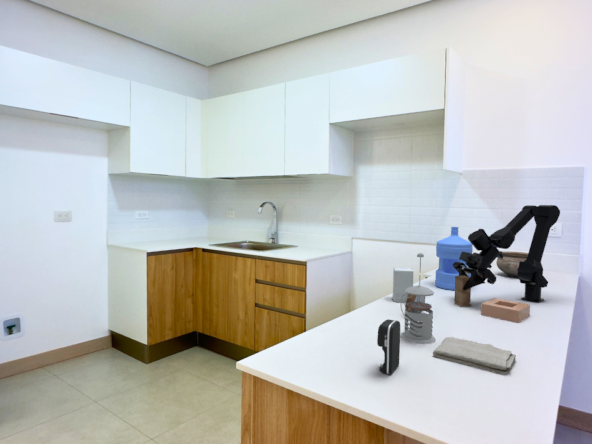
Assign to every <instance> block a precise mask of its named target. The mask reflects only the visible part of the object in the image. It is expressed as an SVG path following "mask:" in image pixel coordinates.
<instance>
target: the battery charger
mask: <svg viewBox="0 0 592 444" xmlns="http://www.w3.org/2000/svg"><path fill="white" fill-rule="evenodd" d="M377 329H378V330H377V341H376V342H377V343H376V344H377V346H378V347H381V349H382V351H383V353H384V355H383V356H384V359H383V361H384V362H383V364H381V366H380V367H379V371H380V372H382V373H384V374H387V375H392V374H393V373H394V372H395V371H396V369H397V368H398V366H399V365H400V349H401V348H400V346H401V345H400V344H401V322H400V320H396V319H389V318H388V319H385V320H384V321H383V322H381V323H380V325H379V326H378V328H377Z"/></svg>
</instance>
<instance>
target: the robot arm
mask: <svg viewBox="0 0 592 444" xmlns="http://www.w3.org/2000/svg"><path fill="white" fill-rule="evenodd" d="M560 215H561V210H560V209H559V207H558V206H557V205H556V204H555V205H554V204H553V205H552V204H539V205H538V206H537V205H529V204H528V205H524V206H523V207H522V208H521V210H520V211H519V212H518V213H517V214H516V215H515V216H514V217H513V218H512V219H511V220H510V221H509V222H508V223H507V224H506V225H505V226H504V227H502V228H500V229H497V230H495V231H494V232H493V233H492V234H490V235H488V234H487V233H486V230H485V229H484V228H478V229H477V230H475V231H473V232H471V233H469V234H468V237H467V241H469V242H471V244H472V247H474V248H475V249H476V251H479V253H478V252H472V254H471V253H468V252H463V251H462V253H461V255H460V257H459V259H460V260H463V261H465V262H466V263H465V264H466V265H467V266H469V267H466V265H465V264H464V263H461V262H455V263H454V264H453V265H452V266H453V267H454V268H455V269H456V271H457V272H458V273H459V276H463V275H464V276H468V275H469V274H471V277H470V278H469V280H468V281H467V282H466V284H465V285H464V287H463V290H467V289H469V288H471V289H472V288H474V287H476V286H479V285H483V284H486V282H487V284H491V285H494V284H495V283H496V282H497V276H496V275H495V274H494V273H493V271H492V270H491V269H492V267H493V266H492V264H493V262H494V261H495V260H497V258H503V255H502V252H503V251H501V250H500V249H504V250H508V249H510V248H511V246H512V245H513V244H514V242H515V241H516V235H517V234H518V233H519V232H521V230H522V229H523V228H525V226H526V225H527V224H528V223H529V222H530V221H531V220H532V219H533V220H534V222H535V229H534V232H533V235H532V240H531V242H530V245H529V248H528V249H529V250H528V252H527V253H528V256H527V259H526V260H525V261H524V262H522V261H520V263H519V267H518V269H517V271H518V276H519V278H518V279H519V282H520V284H524V296H523V297H521V298H520V299H521V300H523V301H528V302H534V303H541V302H543V301H545V298H542V288H547V287H548V284H549V282H548V280H547V279H546V277H545V276H544V275H543V274H544V268H543V264H542V259H543V256H544V251H545V248H546V244H547V241H548V238H549V233H550V230H551V228H552V227H553V226H554V225H556V223H557V221H558V220H559V217H560ZM468 277H469V276H468Z"/></svg>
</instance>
